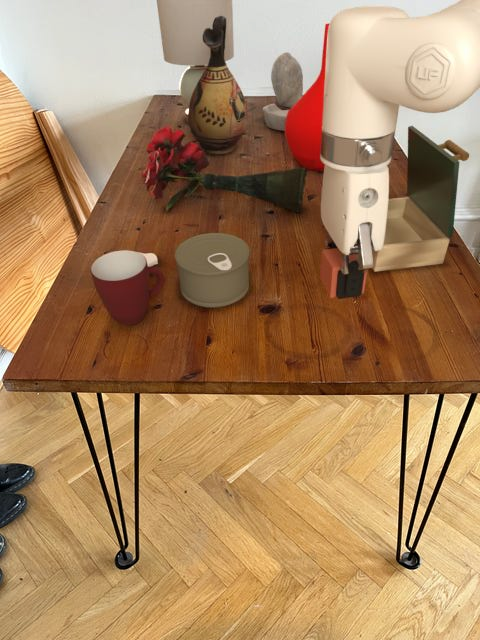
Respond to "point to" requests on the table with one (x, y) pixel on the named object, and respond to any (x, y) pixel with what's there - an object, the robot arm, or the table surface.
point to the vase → (308, 121)
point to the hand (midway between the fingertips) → (341, 283)
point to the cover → (434, 178)
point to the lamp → (192, 36)
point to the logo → (150, 259)
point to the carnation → (189, 161)
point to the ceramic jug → (217, 99)
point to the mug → (125, 284)
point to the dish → (275, 117)
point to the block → (334, 269)
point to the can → (213, 269)
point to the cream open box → (409, 238)
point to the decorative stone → (287, 80)
